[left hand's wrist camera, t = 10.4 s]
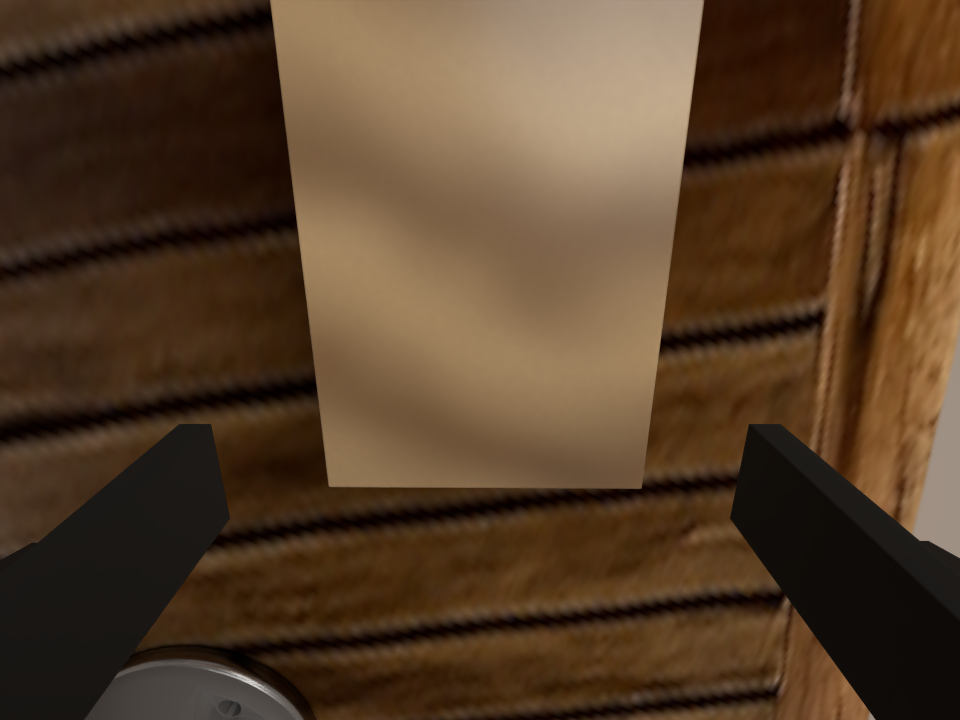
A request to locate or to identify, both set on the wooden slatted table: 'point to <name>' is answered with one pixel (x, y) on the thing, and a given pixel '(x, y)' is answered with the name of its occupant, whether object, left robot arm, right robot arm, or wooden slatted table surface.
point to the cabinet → (486, 230)
